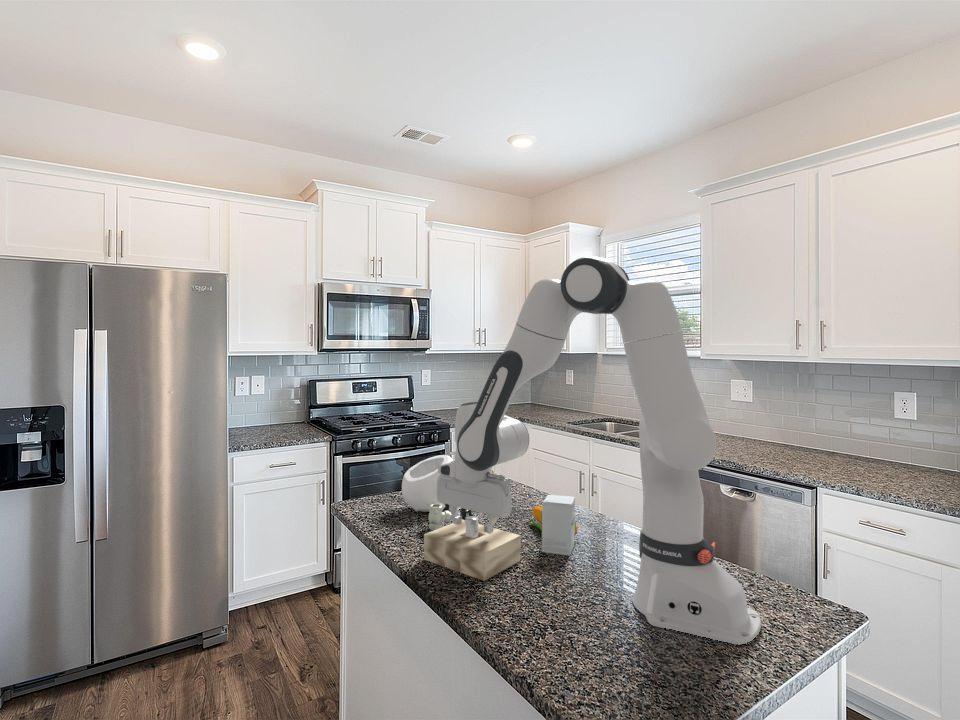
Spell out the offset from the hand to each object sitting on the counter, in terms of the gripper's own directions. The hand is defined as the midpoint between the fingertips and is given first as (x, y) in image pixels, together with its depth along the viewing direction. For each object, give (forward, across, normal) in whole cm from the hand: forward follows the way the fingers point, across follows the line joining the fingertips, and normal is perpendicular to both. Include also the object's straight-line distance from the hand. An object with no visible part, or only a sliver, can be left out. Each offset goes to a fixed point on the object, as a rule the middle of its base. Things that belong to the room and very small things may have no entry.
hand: (472, 528), depth 123 cm
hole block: (+8, 0, 0) cm, 8 cm away
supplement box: (+8, -12, -19) cm, 24 cm away
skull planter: (+8, +33, -24) cm, 42 cm away
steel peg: (+8, 0, 0) cm, 8 cm away
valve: (+8, +20, -14) cm, 25 cm away
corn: (+8, -5, -28) cm, 30 cm away
